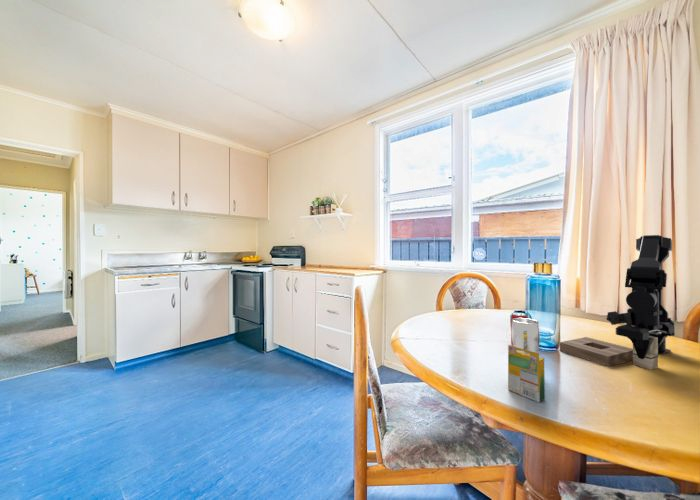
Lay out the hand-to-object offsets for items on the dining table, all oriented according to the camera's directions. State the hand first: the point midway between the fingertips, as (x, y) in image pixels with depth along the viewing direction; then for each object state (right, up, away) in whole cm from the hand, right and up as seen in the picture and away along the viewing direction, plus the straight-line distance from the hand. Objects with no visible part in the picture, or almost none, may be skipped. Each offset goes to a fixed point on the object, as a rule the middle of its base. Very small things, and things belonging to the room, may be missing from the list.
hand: (645, 357), depth 85 cm
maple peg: (0, -3, 0) cm, 3 cm away
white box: (-38, -3, -3) cm, 39 cm away
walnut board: (-7, -3, +9) cm, 12 cm away
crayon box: (-46, -3, -16) cm, 49 cm away
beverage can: (-28, -3, +17) cm, 33 cm away
